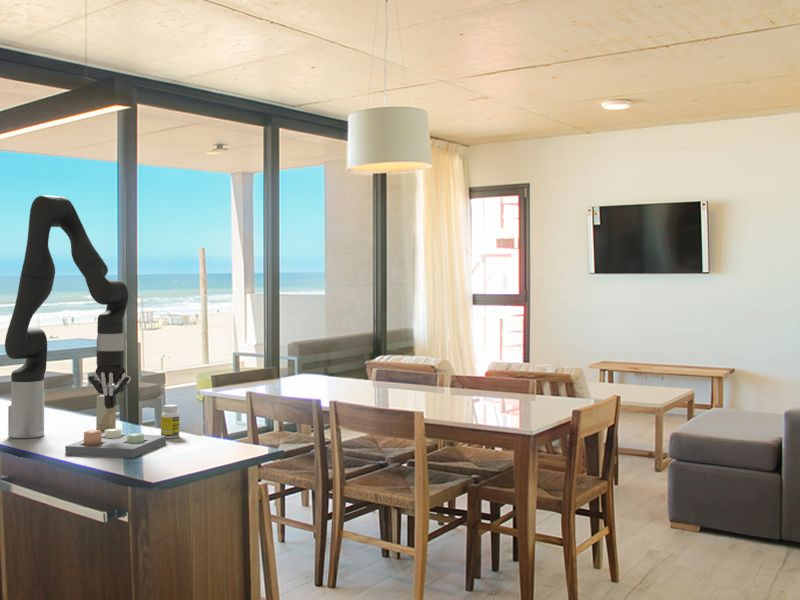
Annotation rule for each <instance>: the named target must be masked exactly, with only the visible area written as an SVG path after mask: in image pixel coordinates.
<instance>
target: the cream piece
mask: <svg viewBox="0 0 800 600" xmlns="http://www.w3.org/2000/svg"><path fill="white" fill-rule="evenodd" d="M104 433H105V438H114V439H117V438H120V437H121V434H122V428H114V429H107V430H104Z"/></svg>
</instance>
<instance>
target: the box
mask: <svg viewBox="0 0 800 600" xmlns="http://www.w3.org/2000/svg"><path fill="white" fill-rule="evenodd" d="M104 402H105V401H104V395H103V394H100V395H97V396H96V412H95V413H96V415H95V416H96V417H95V418H96V420H95V421H96V423H95V428H96V429H95V430H100V431H105V430H107V429H117V428H116V425H117V423H116V420H117V418H116V417H117V416H116V415H117V409H116V408H117V405H116V406H114V408H112V409H106V407H105V405H104Z"/></svg>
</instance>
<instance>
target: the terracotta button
mask: <svg viewBox="0 0 800 600" xmlns="http://www.w3.org/2000/svg"><path fill="white" fill-rule="evenodd" d="M101 434H102V430H96V429H93V430H90V429H89V430H86V431H83V440H84V446H98V445H101Z"/></svg>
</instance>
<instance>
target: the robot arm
mask: <svg viewBox="0 0 800 600" xmlns="http://www.w3.org/2000/svg"><path fill="white" fill-rule="evenodd" d="M28 217H29V220H28V230H27V238H26V239H27V240H26V247H25V252H24V259H23V264H22V268H21V272H20V277H19V282H18V283H19V284H18V289H17V295H16V300H15V303H14V308H13V312H12V315H11V318H10V321H9V325H8V327H7V332H6V334H5V335H6V336H5V339H4V340H5V341H4V349H5V350H4V351H5V354H6V356H7V357H8V358H10V359H13V360H23V359H26V361H25V363H24V364H23V365H22V366H20V367H19V368H17V369H15V370H13V371H12V372H11V374H10V375H11V376H10V383H11V385H10V388H11V389H10V390H11V391H10V392H11V394H10V395H11V400H10V401H11V403H10V404H11V405H8V407H7V410H8V411H7V414H8V415H7V417H8V418H7V419H8V421H7V423H8V424H7V426H8V427H7V428H8V429H7V431H8V433H7V437H8V438H12V439H34V438H40V437H43V436H45V374H46V370H47V359H48V356H47V355H48V338H47V335H46V333H45V331H44V330H43V329H41V328H39V327H34V328H33V327H32V328H30V327H29V326H30V323H31V320H32V318H33V316H34V315H35V313H36V312H37V311H38V310H39V309H40V307H41V306H42V305H43V304H44V302H45V301H46V300H47V299H48V298H49V296H50V295H51V292H52V289H53V286H54V282H55V277H56V266H55V263H54V260H53V257H52V254H51V251H50V249H49V240H50V232H51V229H52V228H60V229H61V230H62V231H63V232H64V233H65V234H66V236H67V237H68V238H69V243H70V252H71V257H72V260H73V262H74V264H75V265H76V267H77V269H78V270H79V272H80V273H81V274H82V276H83V277H84V279H85V283H86V285H87V288H88V291H89V293H90V294H89V295H90V296H91V298H92V299H93V300H94V301H95V302H96V303H98V304H99V305H103V306H105V305H106V308H105V311H104V312H102V313H100V314H98V316H97V324H96V325H97V329H96V330H97V336H96V369H95V373H94V374H93V375H92V374H91V375H89V376H88V381H89V382H90V383H91V385H92V386H93V388H94V389H95V390H96V391H97V393H98V394H100V395H104V401H105V402H104V405H105V407H106V409H112V408H114V406H116V407H117V395H118V394H122V393H123V392H124V390H125V389H126V388H127V387H128V386H129V384H130V383H131V381H132V380H133V377H132V376H130V375H128V374H127V373H126V369H125V366H124V365H125V339H124V316H125V313H126V311H127V310H126V309H127V306H128V302H129V289H128V287H127V285H126V284H125V282H123V281H121V280H115V279H113V280H111V279H107V278H106V276H107V274H108V272H109V269H108V265H107V264H106V262H105V261H104V259H103V258H102V257H101V255H100V254H99V252H98V250H96V248H95V246H94V245H93V243H92V241H91V240H90V237H89V236H88V234H87V232H86V228H85V227H84V224H82V221H81V219H80V217H79V214H78V212H77V210H76V209H75V207H74V205H73V203H72V201H70V199H68V198H67V197H64V196H58V195H38V196H36V197H35V198H34V200H33V201H32V204H31V205H30V211H29V216H28ZM120 381H121V382H120ZM119 382H120V383H119Z"/></svg>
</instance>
